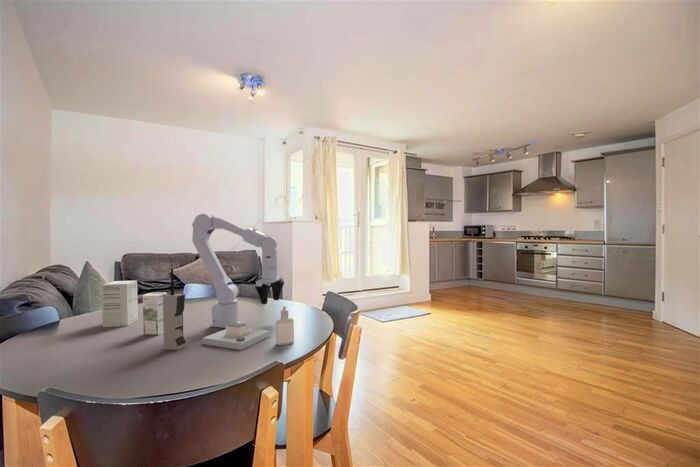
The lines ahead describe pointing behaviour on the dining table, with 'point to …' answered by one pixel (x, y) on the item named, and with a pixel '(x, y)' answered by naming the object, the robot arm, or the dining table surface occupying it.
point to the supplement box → (119, 303)
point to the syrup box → (153, 313)
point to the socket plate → (236, 339)
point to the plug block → (236, 330)
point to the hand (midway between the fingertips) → (270, 301)
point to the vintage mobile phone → (173, 319)
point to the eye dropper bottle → (284, 328)
